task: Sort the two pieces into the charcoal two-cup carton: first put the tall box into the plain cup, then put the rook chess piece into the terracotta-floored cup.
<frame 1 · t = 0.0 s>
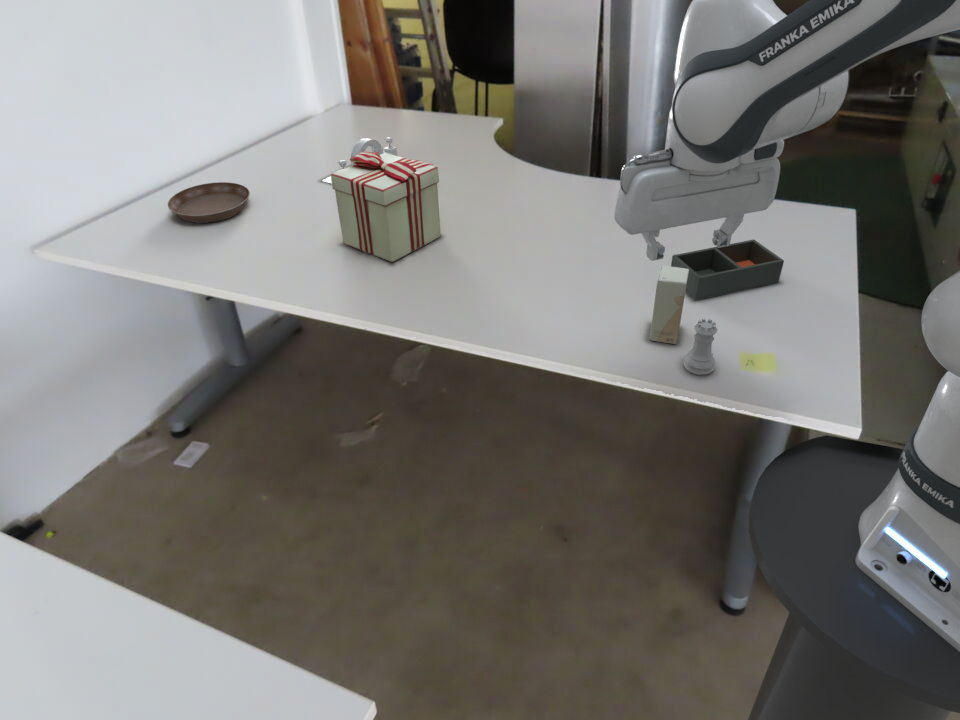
hand: (687, 251, 88), 22 cm above the table, tool pointing down, fingers open, 8 cm apart
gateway: (371, 173, 173), on the table
carton: (723, 280, 125), on the table
box: (664, 335, 113), on the table
rook chess piece: (698, 368, 105), on the table
gift box: (394, 238, 144), on the table
plant saucer: (212, 210, 158), on the table
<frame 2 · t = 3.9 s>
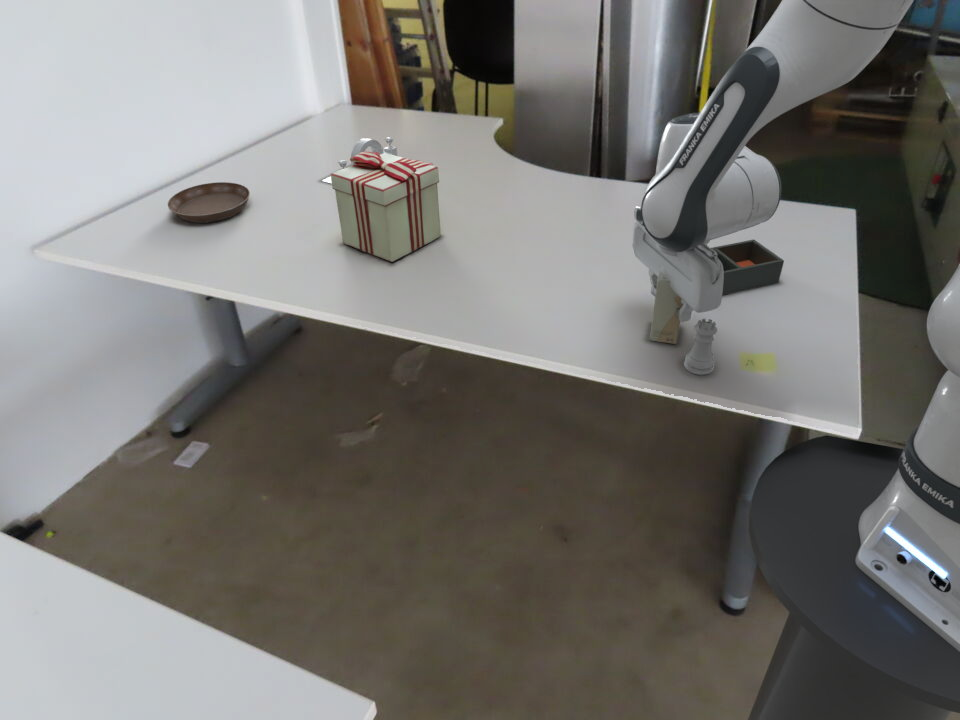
hand: (669, 307, 110), 5 cm above the table, tool pointing down, fingers closed on box, 6 cm apart
box: (664, 335, 113), on the table, touching gripper
everything else where it was.
when the fingers open (5 cm above the table, at t = 12.0 s): box stays where it is, resting on carton.
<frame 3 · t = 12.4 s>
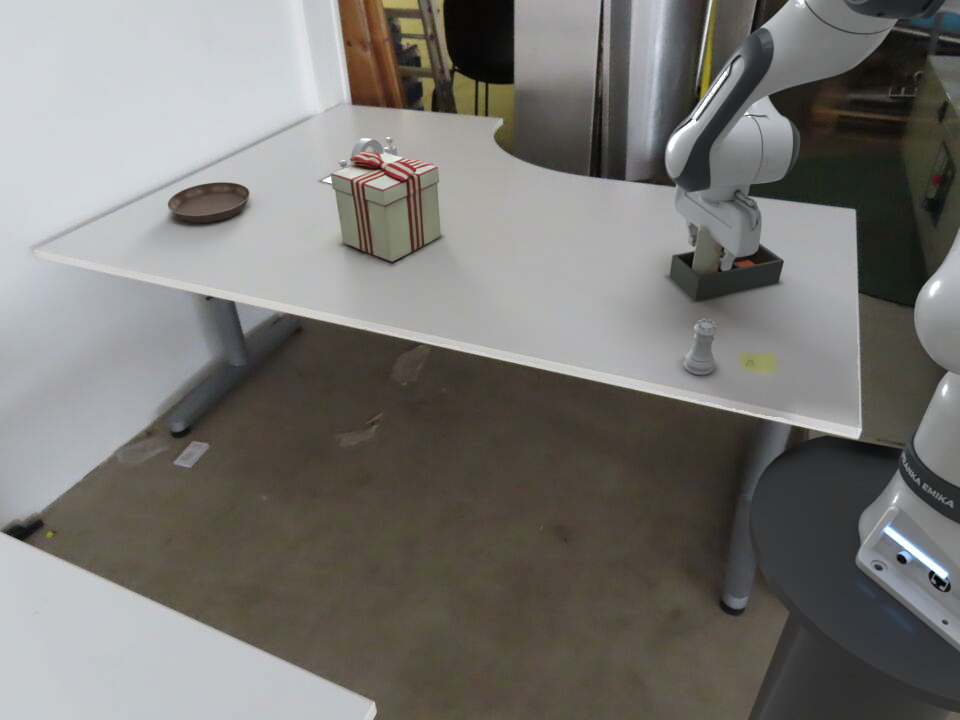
hand: (708, 256, 121), 6 cm above the table, tool pointing down, fingers open, 8 cm apart
box: (702, 283, 124), resting on carton
everything else where it was.
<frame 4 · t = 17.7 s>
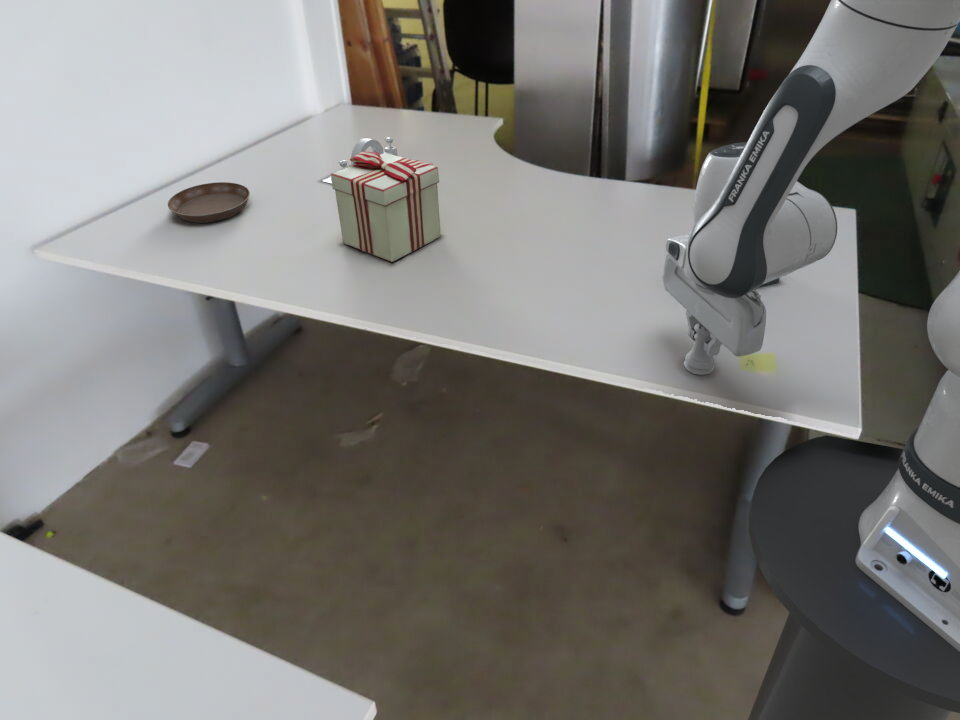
hand: (702, 345, 103), 4 cm above the table, tool pointing down, fingers closed on rook chess piece, 3 cm apart
rook chess piece: (698, 368, 105), on the table, touching gripper
everything else where it was.
when the fingers open (5 cm above the table, at t = 26.4 s): rook chess piece stays where it is, resting on carton.
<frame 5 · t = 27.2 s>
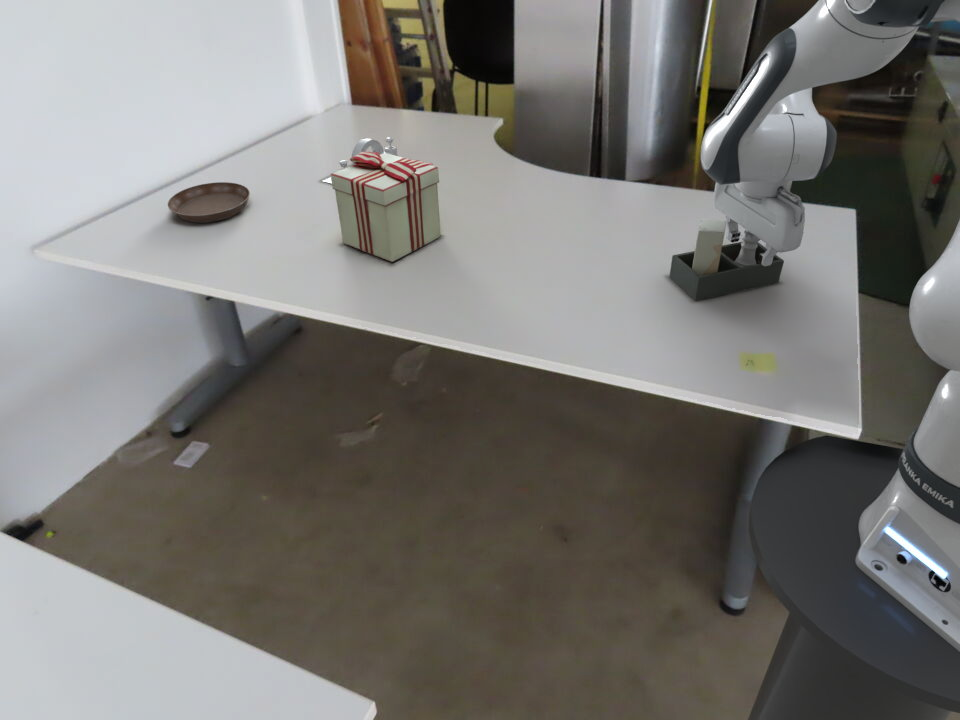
hand: (748, 251, 123), 5 cm above the table, tool pointing down, fingers open, 8 cm apart
rook chess piece: (743, 273, 126), point 1 cm above the table, touching carton
everything else where it was.
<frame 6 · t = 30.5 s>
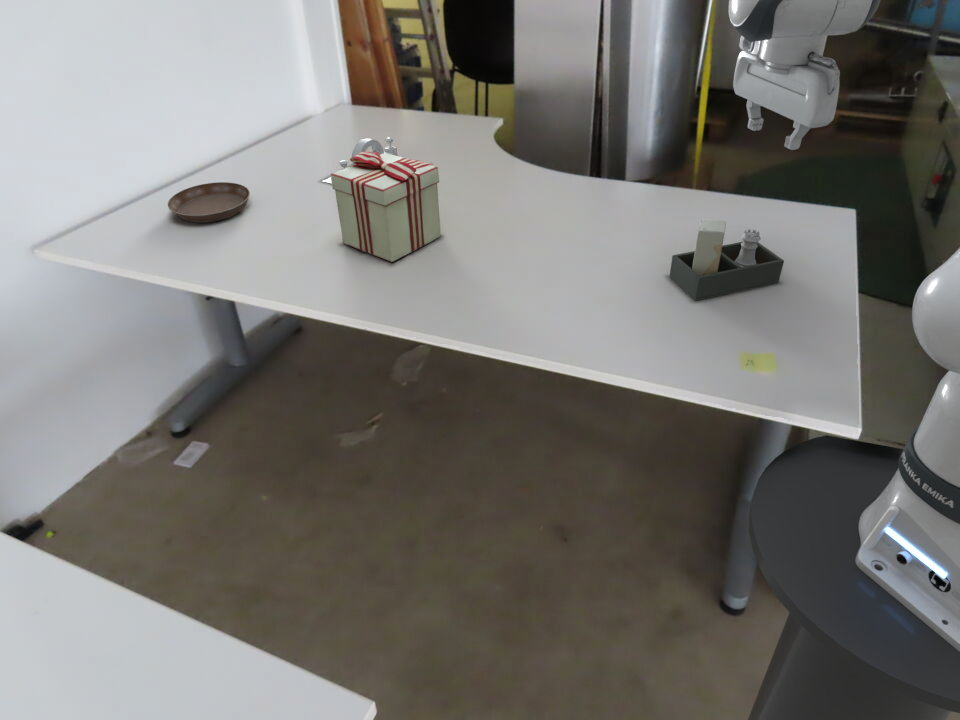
hand: (772, 138, 111), 25 cm above the table, tool pointing down, fingers open, 8 cm apart
nothing on the table moved.
at the end: box 0.4 cm from the target spot in the carton, point 0.3 cm above the carton's base; rook chess piece 0.1 cm from the target spot in the carton, point 0.5 cm above the carton's base; rook chess piece tilted 0° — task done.
